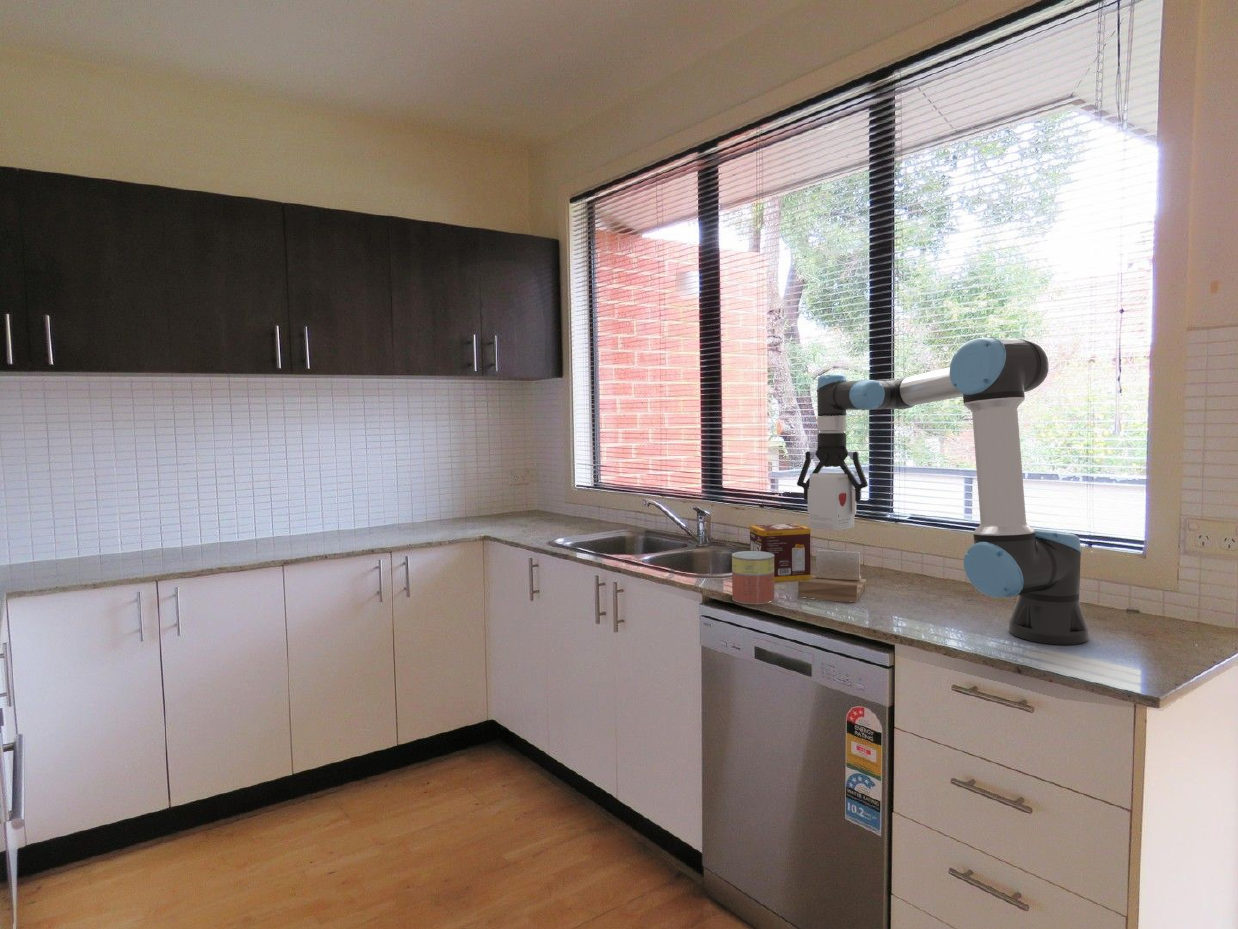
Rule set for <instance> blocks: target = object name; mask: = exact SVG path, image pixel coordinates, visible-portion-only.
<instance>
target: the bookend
mask: <svg viewBox="0 0 1238 929" xmlns="http://www.w3.org/2000/svg"><path fill="white" fill-rule="evenodd" d="M860 554H861V553H860V551H847V550H845V551H844V550H843V551H842V550H826V549H823V550H822V549H816V550H815V567H816V568H815V573H816V574H815V576H816V578H827V579H842V580H856V581H860V579H862V575H861V574H860V572H861V569H860V568H861V566H860V564H861V563H860V561H861V557H860V556H861V555H860Z"/></svg>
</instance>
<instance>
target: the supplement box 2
mask: <svg viewBox="0 0 1238 929" xmlns="http://www.w3.org/2000/svg"><path fill="white" fill-rule="evenodd" d="M852 474H853V475H854V477H855V478H856V474H855V473H853V472H852ZM809 477H810V482H809V513H808V515H809V516H808V526H809V527H808V528H810V529H819V530H828V531H835V532H837V531H842V530H847V529H854V528H855V523H856V522H855V517H856V516H855V515H856V514H852V490H853V489H855V487H854V486H853V485H852V483H851V482H850V480H849V479H848V476H847V474H845V473H844V472H837V471H825V472H819V473H812V472H811V473H809Z"/></svg>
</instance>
